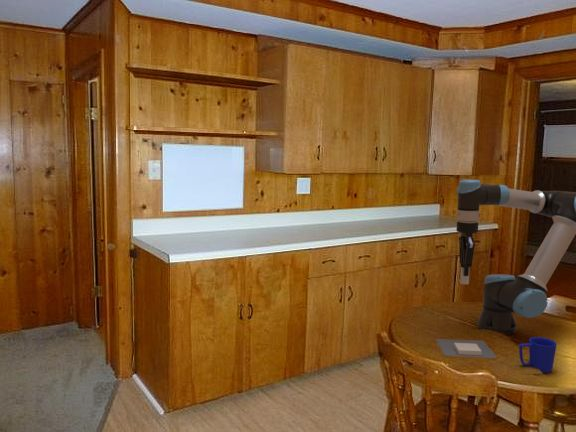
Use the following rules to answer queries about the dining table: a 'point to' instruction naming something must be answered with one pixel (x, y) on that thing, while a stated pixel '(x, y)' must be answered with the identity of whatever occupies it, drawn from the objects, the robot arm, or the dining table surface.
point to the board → (448, 344)
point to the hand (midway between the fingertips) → (464, 283)
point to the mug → (540, 353)
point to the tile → (467, 349)
